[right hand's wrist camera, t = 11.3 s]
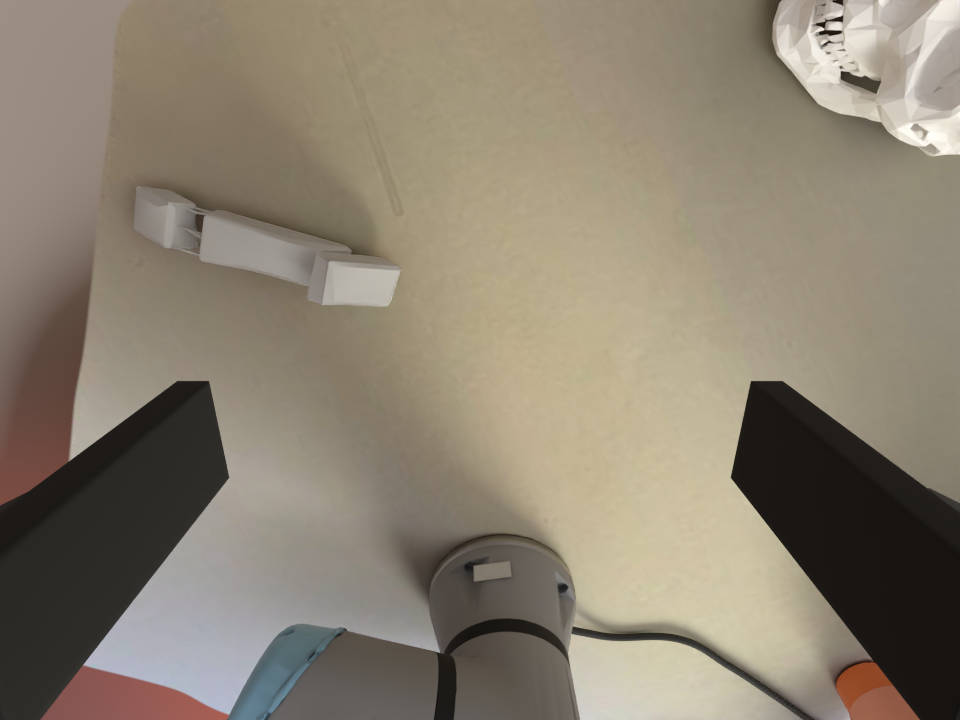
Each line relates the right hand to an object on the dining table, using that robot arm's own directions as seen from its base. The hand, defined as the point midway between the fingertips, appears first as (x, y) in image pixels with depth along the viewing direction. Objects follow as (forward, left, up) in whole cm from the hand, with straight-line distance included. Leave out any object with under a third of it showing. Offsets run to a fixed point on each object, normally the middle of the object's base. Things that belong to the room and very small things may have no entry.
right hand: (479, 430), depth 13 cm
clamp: (+16, +5, -31) cm, 35 cm away
